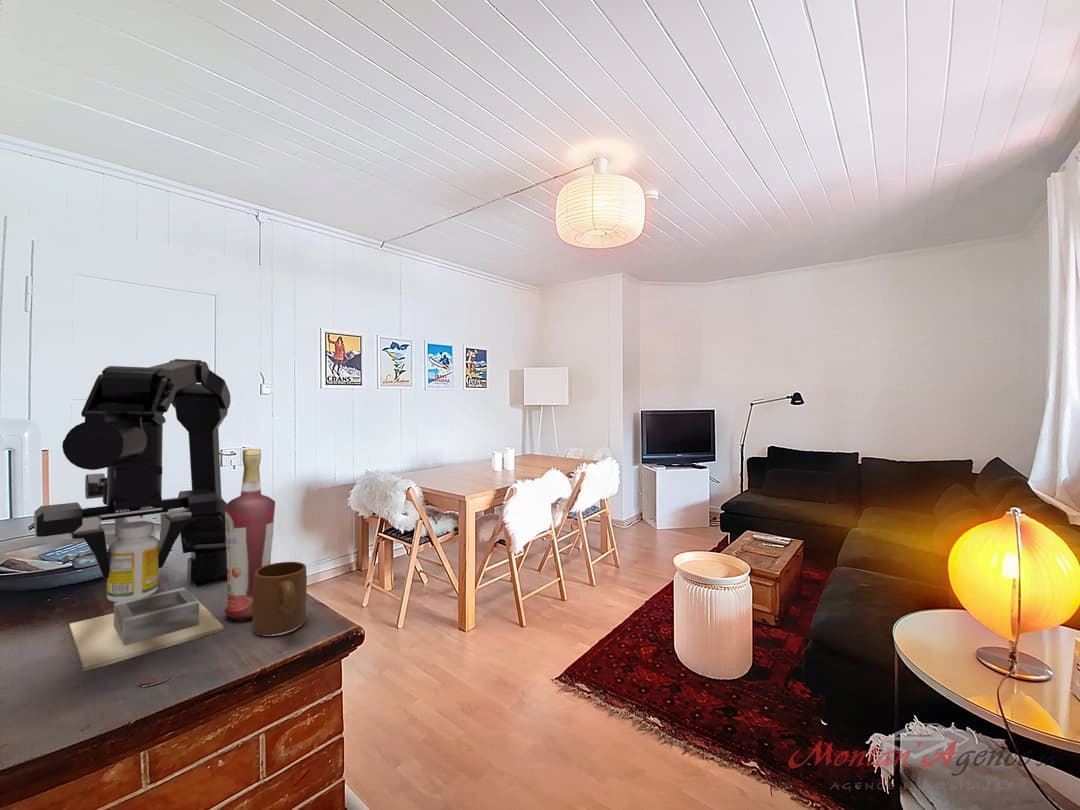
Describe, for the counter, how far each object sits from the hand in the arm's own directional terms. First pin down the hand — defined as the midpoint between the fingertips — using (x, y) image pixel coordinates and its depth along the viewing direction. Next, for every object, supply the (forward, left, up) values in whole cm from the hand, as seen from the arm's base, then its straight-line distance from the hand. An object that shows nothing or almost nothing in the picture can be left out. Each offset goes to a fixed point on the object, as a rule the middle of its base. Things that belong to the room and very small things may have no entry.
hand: (133, 572), depth 65 cm
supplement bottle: (0, 0, -3) cm, 3 cm away
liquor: (-16, -6, -13) cm, 21 cm away
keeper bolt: (-4, -26, -1) cm, 27 cm away
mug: (-17, +5, -13) cm, 22 cm away
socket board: (-3, -11, -13) cm, 17 cm away
